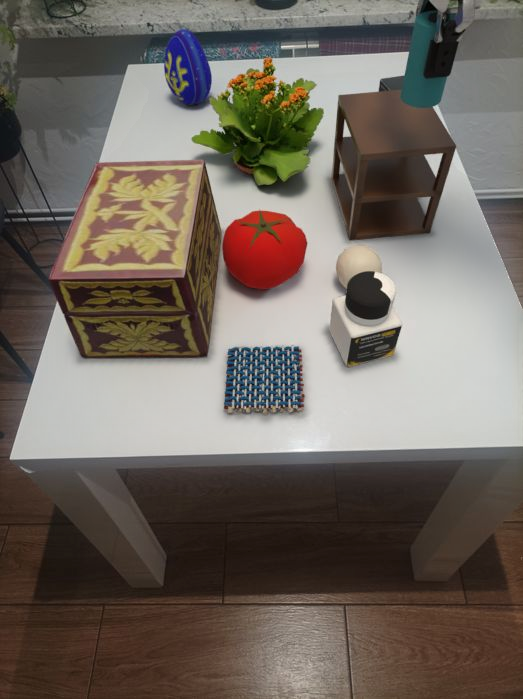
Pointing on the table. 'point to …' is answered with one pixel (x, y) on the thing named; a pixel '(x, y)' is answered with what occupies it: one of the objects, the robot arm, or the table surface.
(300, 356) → the woven mat
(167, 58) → the ornament
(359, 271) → the cream round ball
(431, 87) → the teal cylinder
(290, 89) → the potted flower
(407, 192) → the rack
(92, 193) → the decorative box
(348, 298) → the medicine bottle
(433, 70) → the robot arm
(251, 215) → the tomato
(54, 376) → the table surface
